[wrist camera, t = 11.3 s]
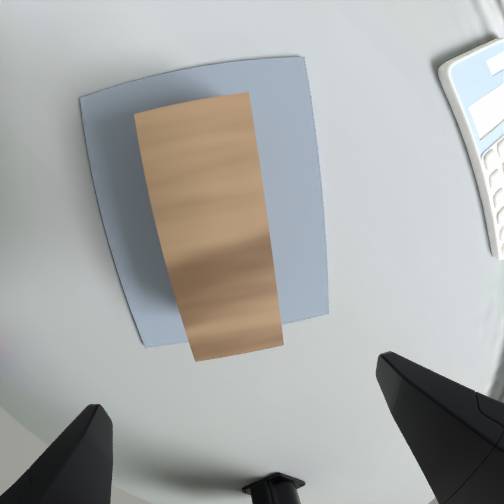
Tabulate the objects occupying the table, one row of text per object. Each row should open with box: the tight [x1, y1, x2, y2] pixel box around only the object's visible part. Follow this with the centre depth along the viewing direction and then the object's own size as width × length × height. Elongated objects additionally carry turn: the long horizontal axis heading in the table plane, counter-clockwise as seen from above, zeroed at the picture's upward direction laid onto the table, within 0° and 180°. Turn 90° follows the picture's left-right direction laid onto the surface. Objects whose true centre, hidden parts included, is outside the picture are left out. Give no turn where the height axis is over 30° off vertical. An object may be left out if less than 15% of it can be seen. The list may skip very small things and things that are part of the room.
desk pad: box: [80, 57, 329, 348], centre depth 19 cm, size 18×14×1 cm
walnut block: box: [134, 92, 284, 362], centre depth 16 cm, size 5×5×13 cm
